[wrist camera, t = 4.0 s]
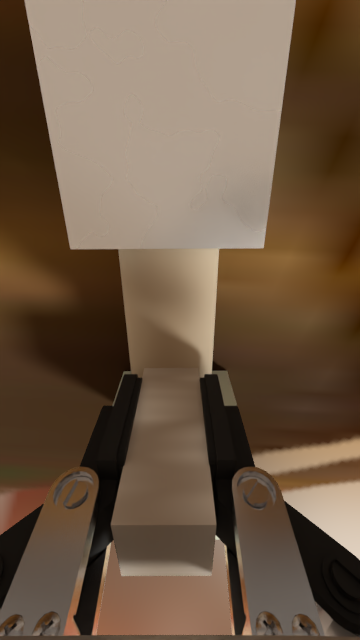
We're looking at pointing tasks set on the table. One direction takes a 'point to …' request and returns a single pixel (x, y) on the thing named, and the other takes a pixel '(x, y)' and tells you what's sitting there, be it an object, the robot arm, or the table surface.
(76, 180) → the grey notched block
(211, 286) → the inner bar
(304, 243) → the table surface
